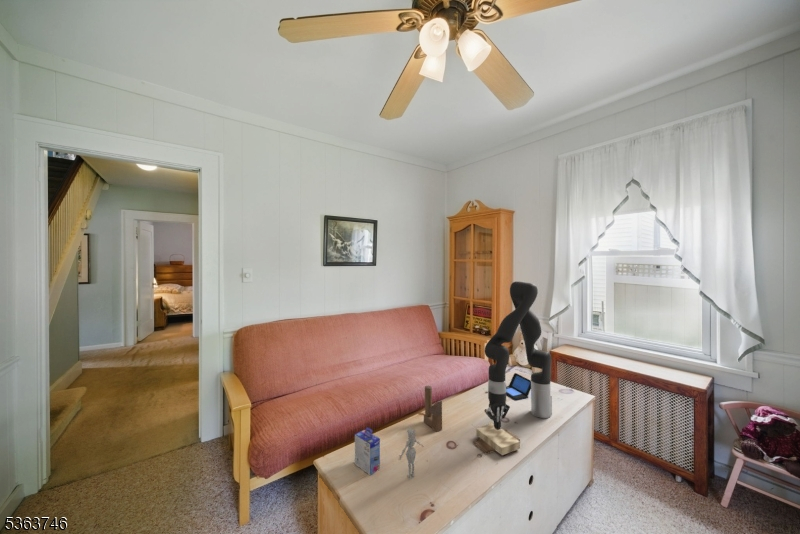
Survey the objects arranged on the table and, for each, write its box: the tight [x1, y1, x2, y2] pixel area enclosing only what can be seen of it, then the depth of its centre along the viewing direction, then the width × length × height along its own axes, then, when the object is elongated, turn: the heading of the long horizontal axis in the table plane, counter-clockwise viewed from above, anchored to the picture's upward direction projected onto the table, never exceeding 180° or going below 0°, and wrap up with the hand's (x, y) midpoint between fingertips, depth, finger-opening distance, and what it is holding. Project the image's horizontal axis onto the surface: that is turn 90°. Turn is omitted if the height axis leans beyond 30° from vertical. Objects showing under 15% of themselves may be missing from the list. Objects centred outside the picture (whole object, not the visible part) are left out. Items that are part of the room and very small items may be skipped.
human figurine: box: [398, 428, 424, 480], centre depth 109 cm, size 12×4×18 cm, turn 128°
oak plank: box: [475, 422, 521, 456], centre depth 128 cm, size 10×3×16 cm
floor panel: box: [473, 429, 521, 455], centre depth 129 cm, size 19×8×1 cm, turn 115°
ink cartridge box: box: [354, 427, 381, 476], centre depth 115 cm, size 10×6×14 cm, turn 47°
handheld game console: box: [506, 372, 531, 401], centre depth 176 cm, size 16×13×9 cm
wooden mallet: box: [423, 385, 443, 432], centre depth 143 cm, size 4×11×18 cm, turn 30°
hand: (497, 428), depth 128 cm, fingers closed
